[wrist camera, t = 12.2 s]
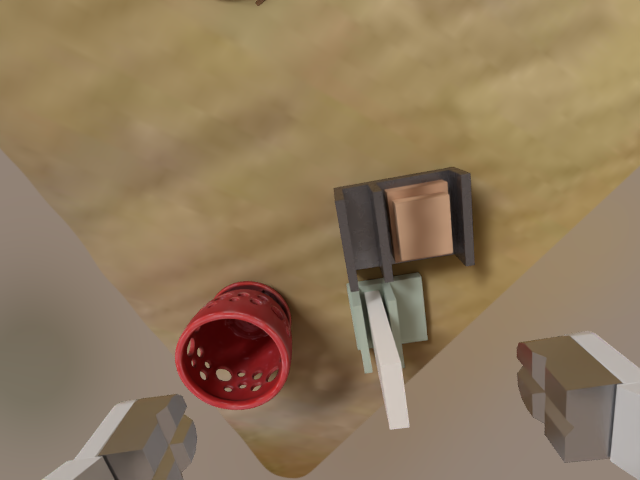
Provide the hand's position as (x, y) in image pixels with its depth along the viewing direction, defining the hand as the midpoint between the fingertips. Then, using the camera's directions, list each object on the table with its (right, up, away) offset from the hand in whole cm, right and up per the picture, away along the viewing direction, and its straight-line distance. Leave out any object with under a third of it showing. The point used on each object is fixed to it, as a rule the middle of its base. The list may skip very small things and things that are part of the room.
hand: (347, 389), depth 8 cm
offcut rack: (+9, +6, +37) cm, 39 cm away
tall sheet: (+7, -7, +40) cm, 41 cm away
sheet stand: (+9, -6, +42) cm, 43 cm away
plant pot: (-10, -7, +42) cm, 44 cm away
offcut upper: (+11, +6, +34) cm, 36 cm away
